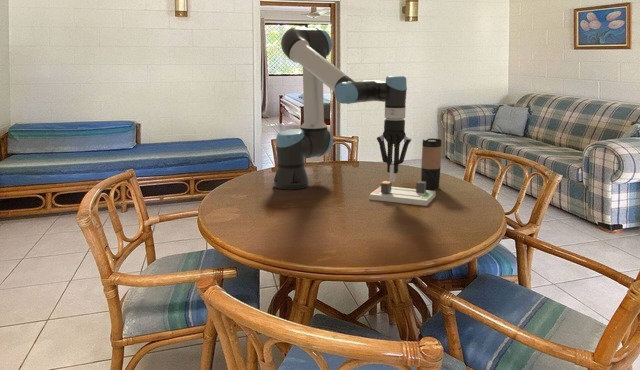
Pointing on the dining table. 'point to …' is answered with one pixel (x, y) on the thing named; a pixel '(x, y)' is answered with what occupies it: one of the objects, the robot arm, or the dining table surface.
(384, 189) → the breaker handle
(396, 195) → the board
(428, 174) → the travel mug
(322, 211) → the dining table surface
